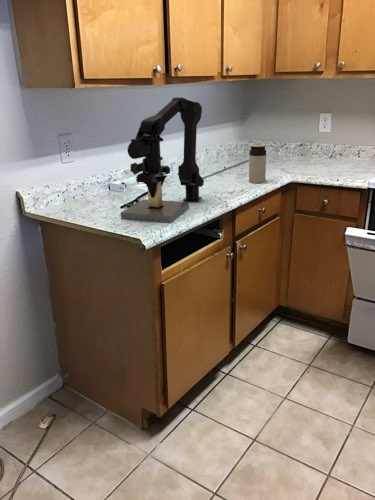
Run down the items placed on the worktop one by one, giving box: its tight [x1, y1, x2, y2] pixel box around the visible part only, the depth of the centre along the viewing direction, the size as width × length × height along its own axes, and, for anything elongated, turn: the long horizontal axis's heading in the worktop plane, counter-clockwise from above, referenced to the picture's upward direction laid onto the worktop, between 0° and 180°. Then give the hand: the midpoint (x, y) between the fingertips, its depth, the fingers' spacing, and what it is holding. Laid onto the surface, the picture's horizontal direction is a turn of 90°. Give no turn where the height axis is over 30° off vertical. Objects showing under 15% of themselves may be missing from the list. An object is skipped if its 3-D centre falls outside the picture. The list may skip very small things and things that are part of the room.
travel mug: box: [248, 143, 267, 184], centre depth 214 cm, size 8×8×18 cm
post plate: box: [120, 198, 190, 224], centre depth 171 cm, size 20×20×2 cm
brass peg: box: [147, 181, 163, 207], centre depth 168 cm, size 4×4×9 cm
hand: (155, 196), depth 169 cm, fingers closed on brass peg, 4 cm apart
